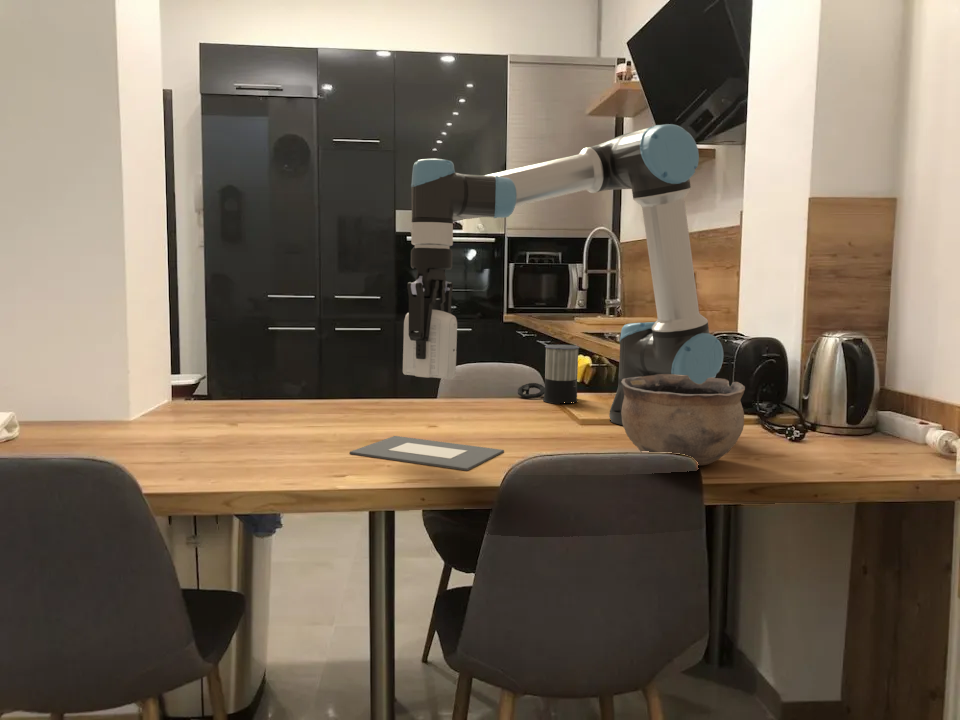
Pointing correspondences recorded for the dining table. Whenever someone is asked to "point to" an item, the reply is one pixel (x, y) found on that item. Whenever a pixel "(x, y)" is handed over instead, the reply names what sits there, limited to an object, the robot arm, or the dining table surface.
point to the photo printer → (434, 346)
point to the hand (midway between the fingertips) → (429, 374)
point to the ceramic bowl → (683, 415)
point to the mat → (428, 452)
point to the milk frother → (557, 376)
